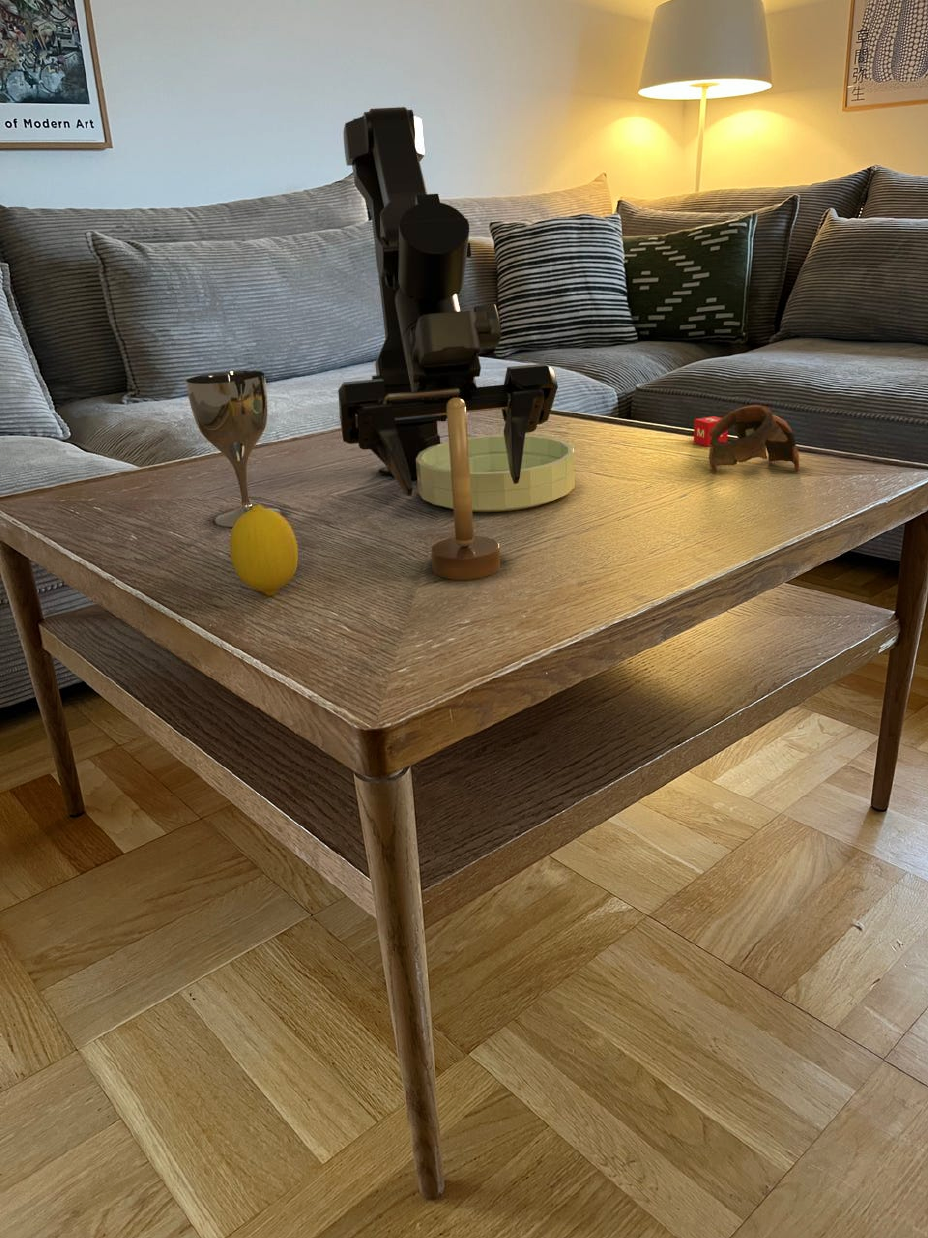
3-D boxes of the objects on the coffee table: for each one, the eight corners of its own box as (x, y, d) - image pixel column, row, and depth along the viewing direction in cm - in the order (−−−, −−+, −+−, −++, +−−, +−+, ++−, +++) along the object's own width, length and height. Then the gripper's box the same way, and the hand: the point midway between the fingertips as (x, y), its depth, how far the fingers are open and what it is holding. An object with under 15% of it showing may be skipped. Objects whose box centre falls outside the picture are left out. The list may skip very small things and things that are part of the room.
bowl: (387, 500, 102) (383, 461, 100) (487, 465, 114) (485, 429, 112) (508, 525, 91) (506, 481, 90) (605, 483, 103) (605, 444, 101)
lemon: (243, 586, 80) (227, 498, 77) (306, 580, 81) (293, 493, 77) (233, 610, 75) (217, 518, 72) (301, 604, 76) (287, 512, 72)
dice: (693, 442, 118) (694, 418, 117) (713, 439, 119) (714, 415, 118) (707, 446, 115) (708, 423, 114) (727, 443, 116) (728, 419, 115)
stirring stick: (419, 571, 81) (404, 401, 75) (463, 551, 85) (452, 388, 79) (469, 585, 77) (458, 407, 71) (514, 564, 81) (506, 393, 75)
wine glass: (297, 507, 102) (278, 370, 96) (261, 529, 95) (237, 383, 89) (236, 504, 104) (214, 370, 98) (196, 526, 98) (169, 384, 92)
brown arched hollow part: (815, 482, 100) (789, 423, 96) (732, 518, 103) (704, 462, 99) (790, 431, 109) (766, 374, 105) (715, 465, 113) (689, 412, 108)
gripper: (325, 281, 74) (350, 446, 68) (549, 264, 76) (590, 421, 71) (332, 368, 84) (354, 517, 78) (528, 350, 87) (563, 493, 81)
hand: (463, 487), depth 77 cm, fingers open, 9 cm apart
